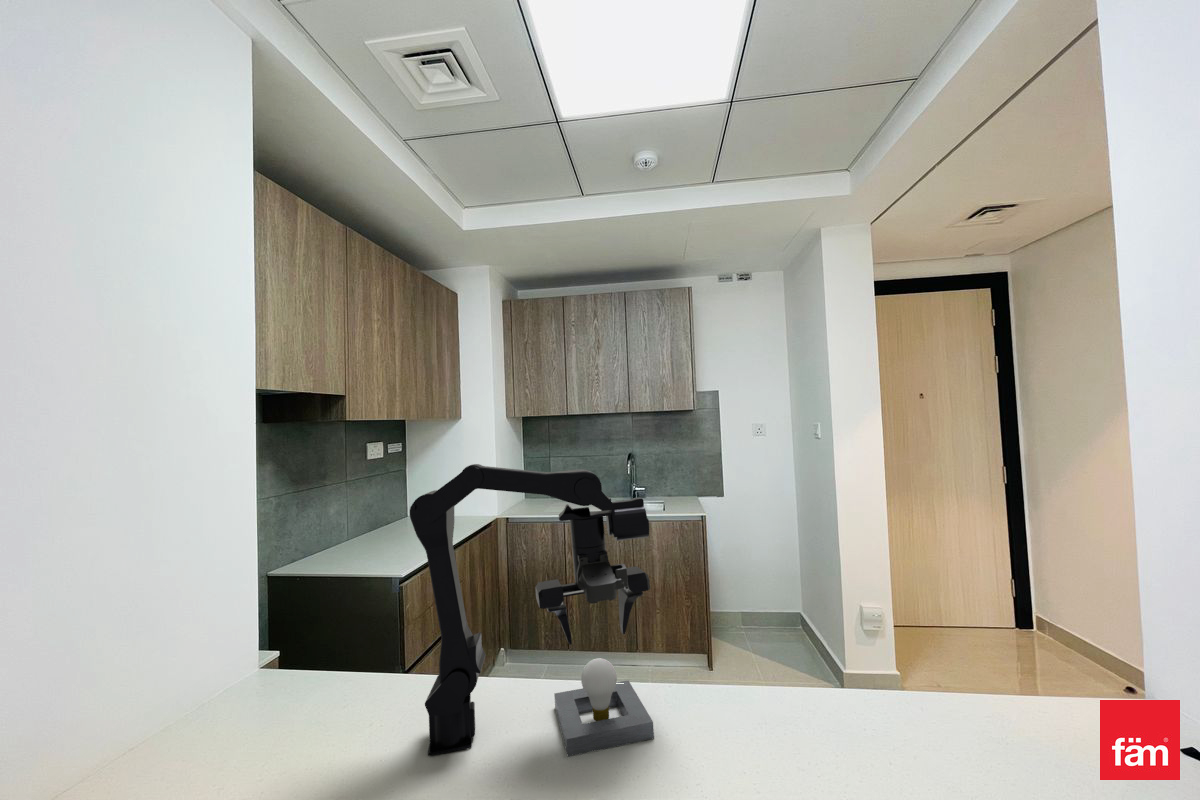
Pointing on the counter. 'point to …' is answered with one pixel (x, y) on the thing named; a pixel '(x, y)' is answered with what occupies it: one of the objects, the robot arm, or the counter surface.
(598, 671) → the light bulb
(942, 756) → the counter surface
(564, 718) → the socket collar
